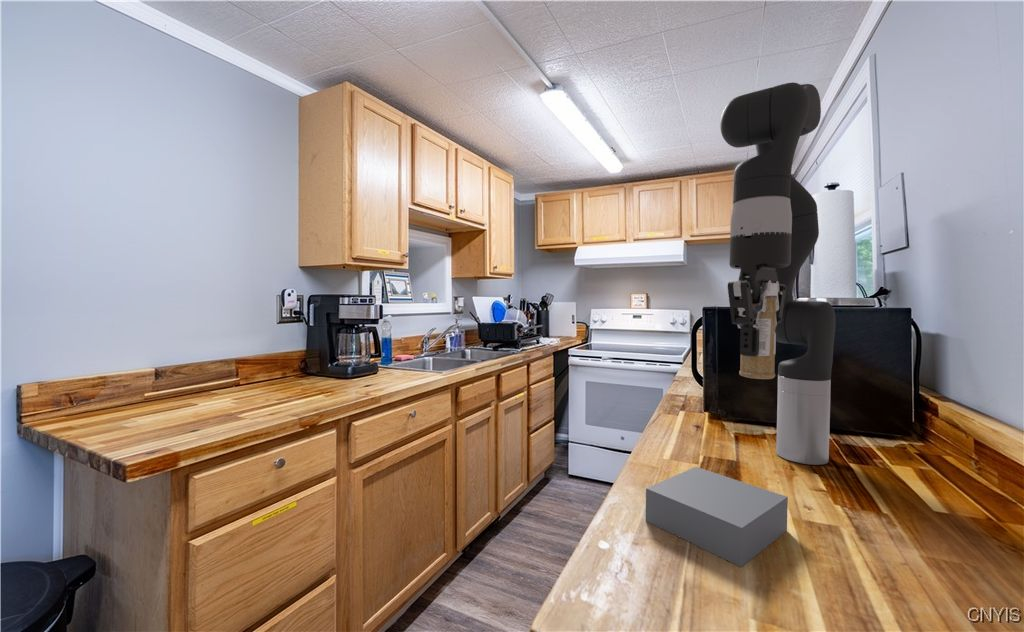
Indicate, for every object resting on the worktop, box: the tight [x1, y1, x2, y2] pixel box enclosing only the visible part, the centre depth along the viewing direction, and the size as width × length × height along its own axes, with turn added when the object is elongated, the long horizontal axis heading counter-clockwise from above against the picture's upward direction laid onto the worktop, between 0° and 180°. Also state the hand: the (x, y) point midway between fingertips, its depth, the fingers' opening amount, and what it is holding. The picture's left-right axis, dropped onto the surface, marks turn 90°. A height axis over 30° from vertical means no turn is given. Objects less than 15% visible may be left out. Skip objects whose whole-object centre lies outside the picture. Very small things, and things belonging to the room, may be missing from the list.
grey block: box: [645, 466, 789, 568], centre depth 63 cm, size 14×14×5 cm
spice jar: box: [738, 283, 778, 380], centre depth 61 cm, size 5×5×14 cm
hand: (756, 353), depth 61 cm, fingers closed on spice jar, 4 cm apart
